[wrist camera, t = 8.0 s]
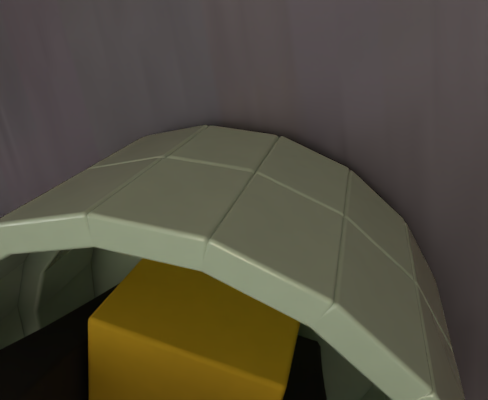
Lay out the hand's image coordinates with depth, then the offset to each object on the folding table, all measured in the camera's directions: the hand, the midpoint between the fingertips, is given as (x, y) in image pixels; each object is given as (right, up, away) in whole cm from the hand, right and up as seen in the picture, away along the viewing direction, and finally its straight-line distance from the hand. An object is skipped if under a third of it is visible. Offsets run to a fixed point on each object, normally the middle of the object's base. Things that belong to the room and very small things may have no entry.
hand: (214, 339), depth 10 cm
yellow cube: (0, 0, +1) cm, 1 cm away
